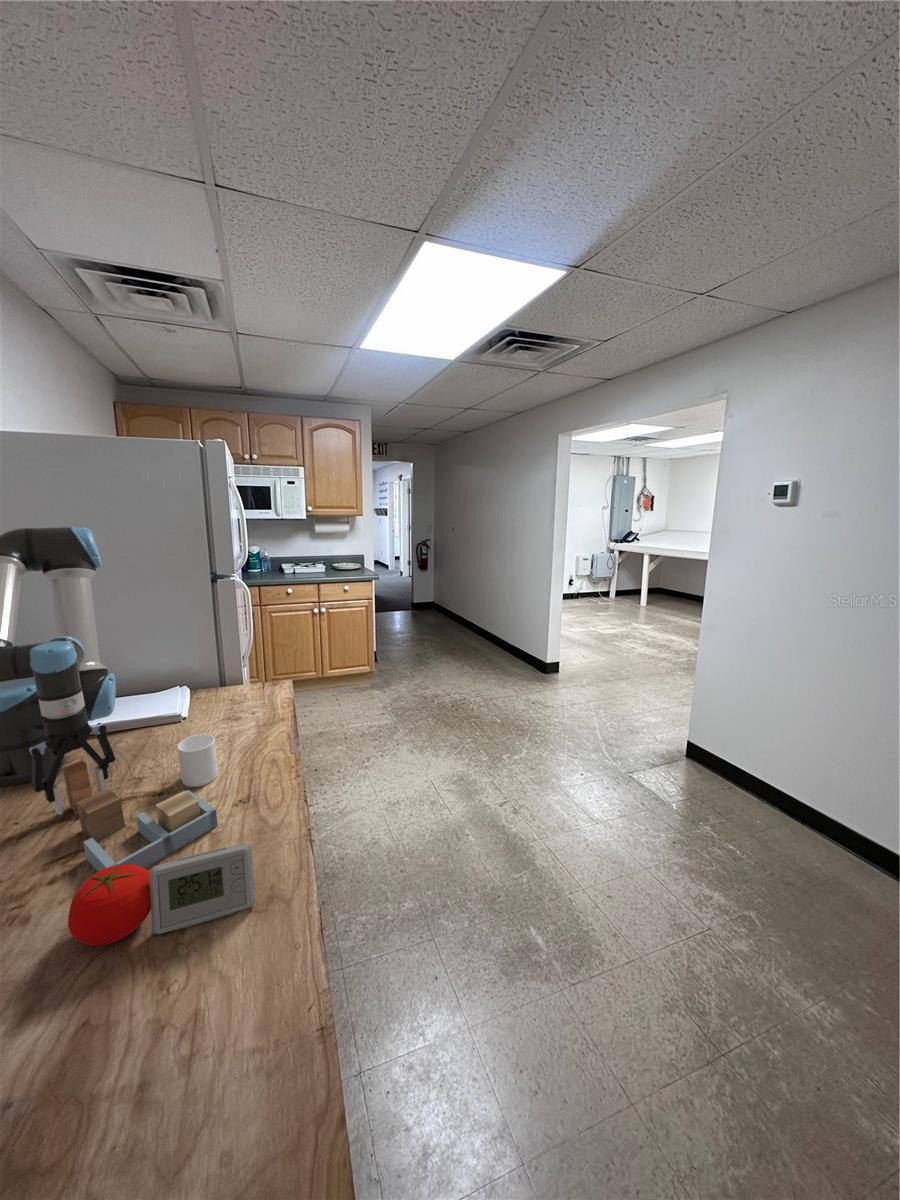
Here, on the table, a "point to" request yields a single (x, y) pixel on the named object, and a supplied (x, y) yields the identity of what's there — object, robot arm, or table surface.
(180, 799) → the oak block
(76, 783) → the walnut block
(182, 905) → the digital clock
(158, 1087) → the table surface
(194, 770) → the cup
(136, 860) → the lane shelf
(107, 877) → the tomato
